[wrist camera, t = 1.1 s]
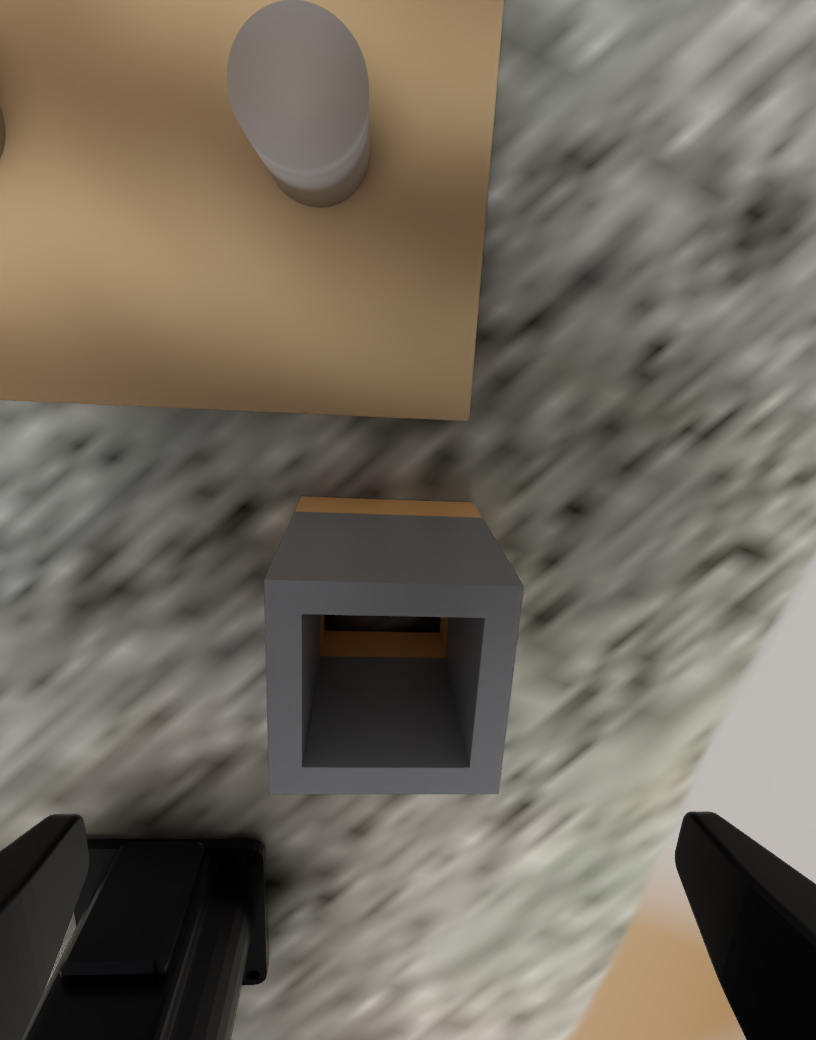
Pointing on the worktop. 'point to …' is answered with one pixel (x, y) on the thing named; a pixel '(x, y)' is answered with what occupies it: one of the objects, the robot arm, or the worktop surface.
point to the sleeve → (389, 650)
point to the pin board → (245, 202)
